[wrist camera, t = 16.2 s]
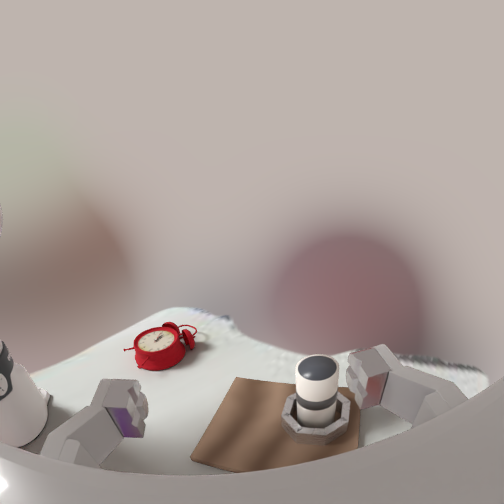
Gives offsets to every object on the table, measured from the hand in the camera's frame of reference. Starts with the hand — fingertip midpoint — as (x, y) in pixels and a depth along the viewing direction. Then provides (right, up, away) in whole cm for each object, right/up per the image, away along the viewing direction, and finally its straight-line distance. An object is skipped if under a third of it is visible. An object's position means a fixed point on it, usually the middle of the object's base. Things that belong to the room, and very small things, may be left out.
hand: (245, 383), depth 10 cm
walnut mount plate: (+5, -19, +23) cm, 31 cm away
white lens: (+9, -18, +23) cm, 30 cm away
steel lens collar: (+9, -18, +23) cm, 30 cm away
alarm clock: (-17, -15, +44) cm, 50 cm away
